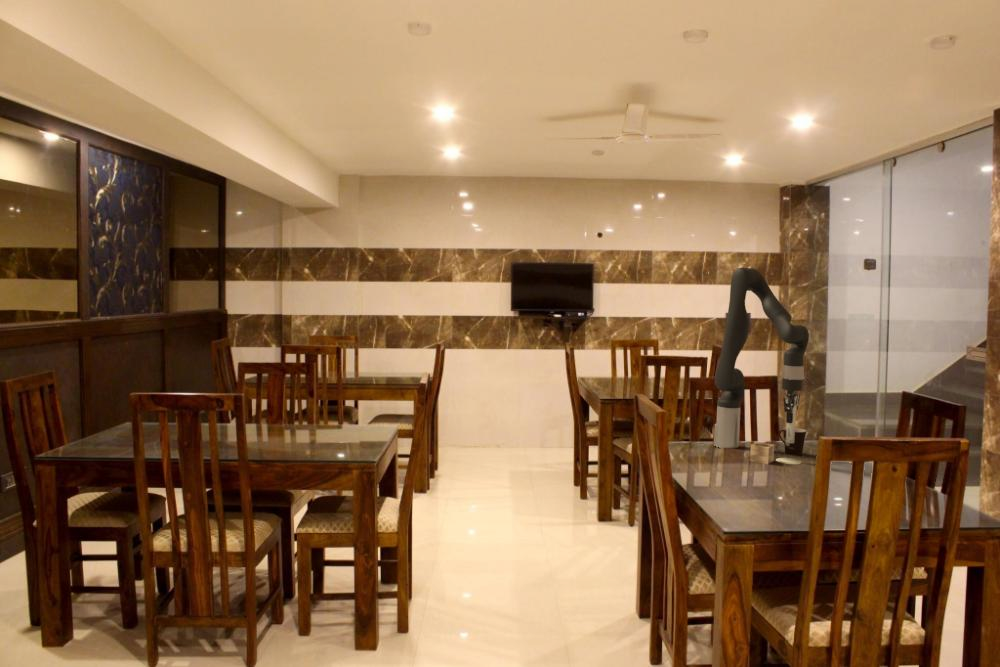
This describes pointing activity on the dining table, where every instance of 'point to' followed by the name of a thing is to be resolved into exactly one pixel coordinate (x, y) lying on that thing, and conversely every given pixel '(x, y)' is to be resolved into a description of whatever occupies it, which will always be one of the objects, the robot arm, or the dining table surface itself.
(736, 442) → the robot arm
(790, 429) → the rod
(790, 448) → the coffee mug
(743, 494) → the dining table surface
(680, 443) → the dining table surface
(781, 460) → the saucer
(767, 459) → the holder
